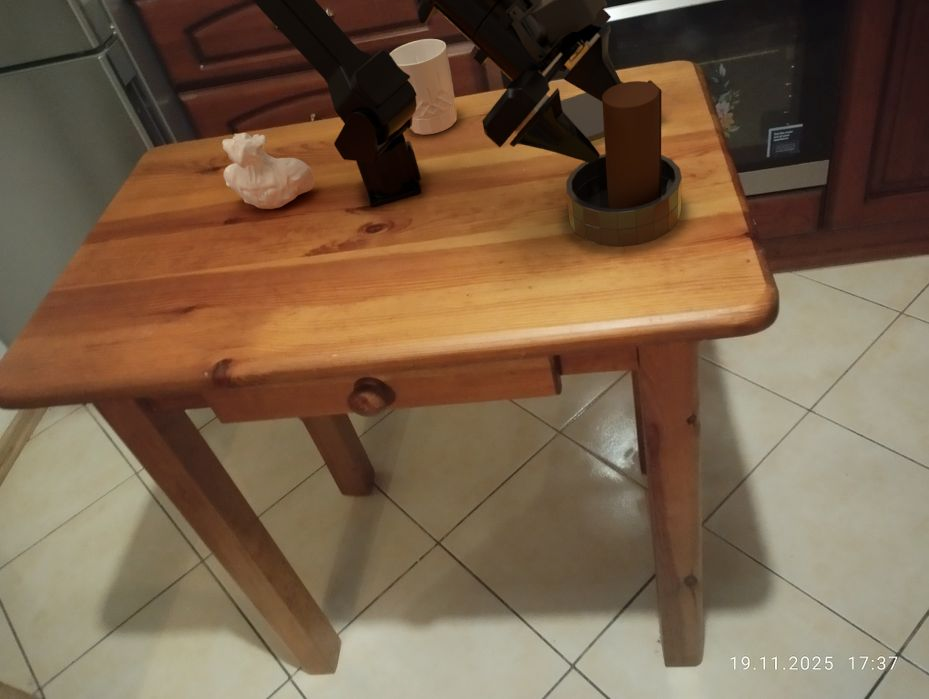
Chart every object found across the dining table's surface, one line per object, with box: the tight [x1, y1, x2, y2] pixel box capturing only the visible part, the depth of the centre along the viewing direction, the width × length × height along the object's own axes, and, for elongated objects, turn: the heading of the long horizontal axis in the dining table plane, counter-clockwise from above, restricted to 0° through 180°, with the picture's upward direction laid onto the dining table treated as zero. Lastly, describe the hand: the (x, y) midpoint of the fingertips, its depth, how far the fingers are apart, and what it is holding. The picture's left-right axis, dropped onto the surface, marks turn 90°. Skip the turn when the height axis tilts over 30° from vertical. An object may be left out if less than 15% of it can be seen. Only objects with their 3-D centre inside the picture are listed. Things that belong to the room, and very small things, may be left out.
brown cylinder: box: [602, 79, 662, 209], centre depth 65 cm, size 5×5×13 cm
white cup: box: [389, 38, 458, 136], centre depth 91 cm, size 8×8×10 cm
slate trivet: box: [560, 80, 624, 143], centre depth 86 cm, size 11×11×1 cm
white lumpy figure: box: [221, 132, 315, 210], centre depth 84 cm, size 12×8×11 cm
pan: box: [565, 153, 683, 247], centre depth 69 cm, size 11×11×4 cm
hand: (613, 134), depth 64 cm, fingers open, 9 cm apart
